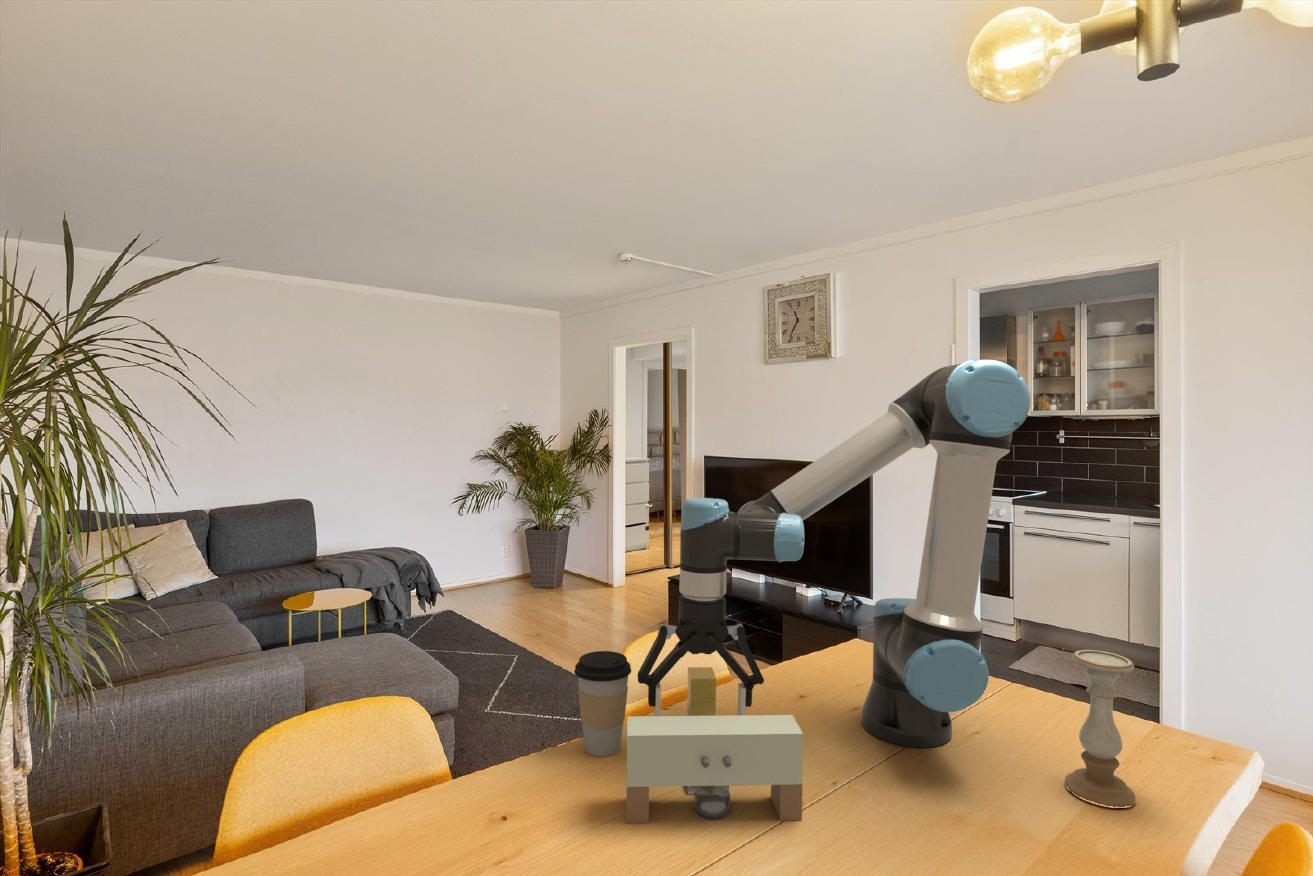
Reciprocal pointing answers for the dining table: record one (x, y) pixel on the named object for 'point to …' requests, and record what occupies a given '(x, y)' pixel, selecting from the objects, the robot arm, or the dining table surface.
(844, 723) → the dining table surface
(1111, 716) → the candle holder
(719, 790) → the dark grey metallic disc
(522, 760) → the dining table surface
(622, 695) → the coffee cup
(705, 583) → the robot arm
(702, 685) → the blade tool
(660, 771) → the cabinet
